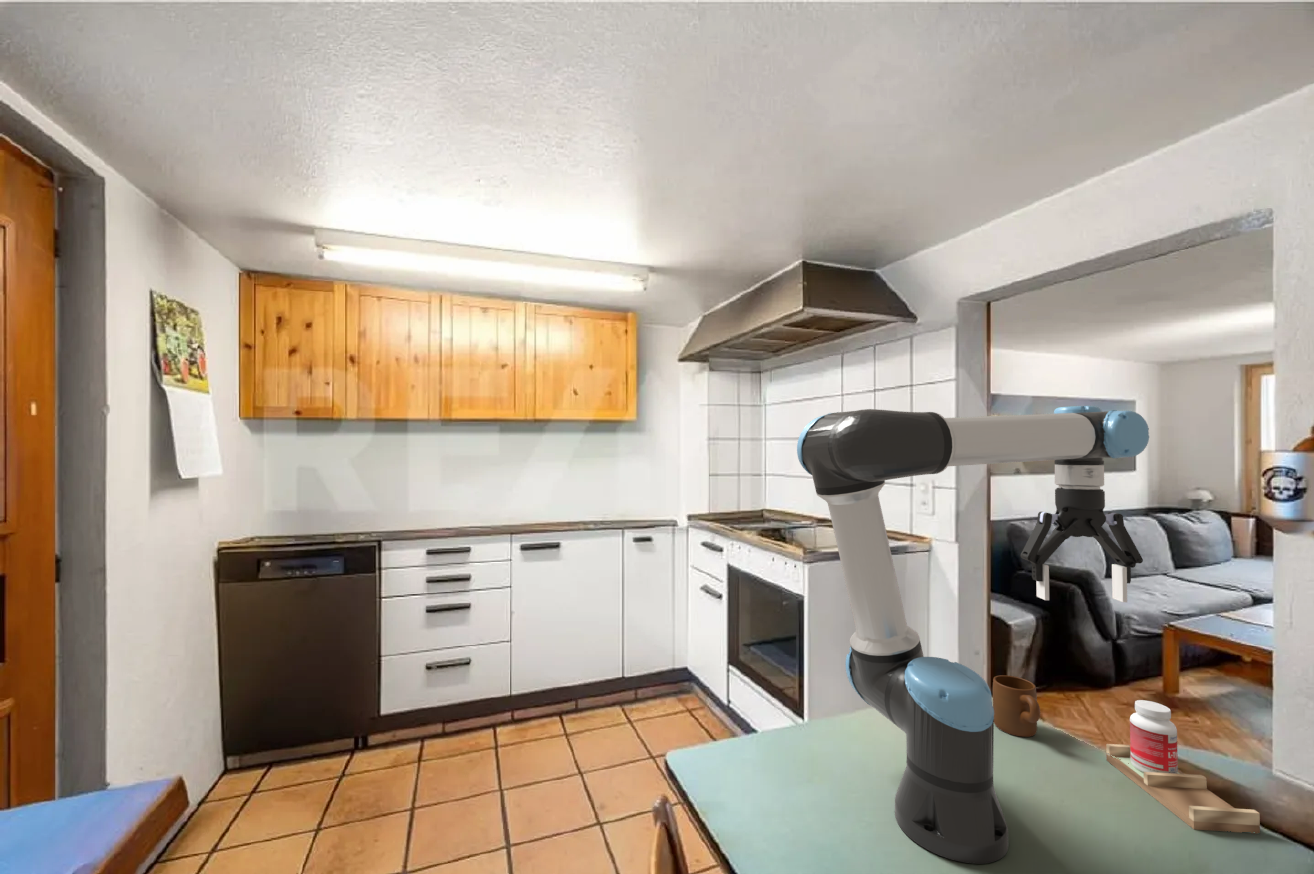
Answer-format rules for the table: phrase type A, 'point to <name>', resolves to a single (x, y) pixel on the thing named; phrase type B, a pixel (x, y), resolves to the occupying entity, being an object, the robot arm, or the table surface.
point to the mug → (1015, 705)
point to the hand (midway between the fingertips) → (1081, 599)
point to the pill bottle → (1153, 738)
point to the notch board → (1186, 796)
